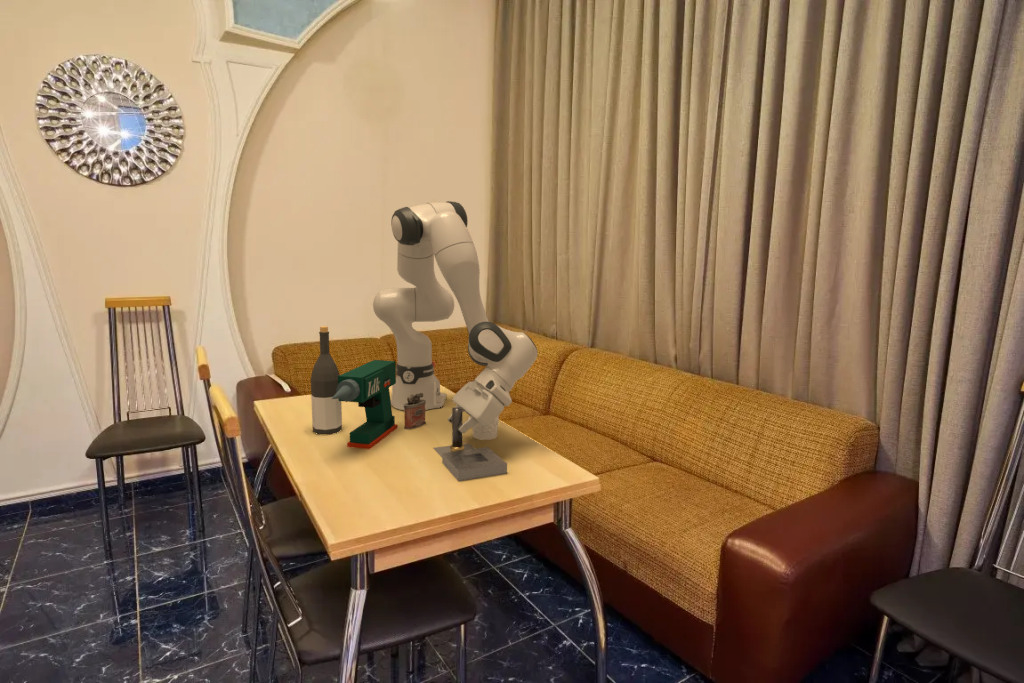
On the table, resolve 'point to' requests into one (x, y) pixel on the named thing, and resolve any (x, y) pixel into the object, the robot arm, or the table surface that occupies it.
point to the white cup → (486, 430)
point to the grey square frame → (474, 463)
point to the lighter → (414, 411)
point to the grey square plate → (447, 449)
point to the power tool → (369, 400)
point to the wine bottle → (325, 390)
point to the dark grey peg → (456, 430)
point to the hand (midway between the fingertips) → (455, 426)
